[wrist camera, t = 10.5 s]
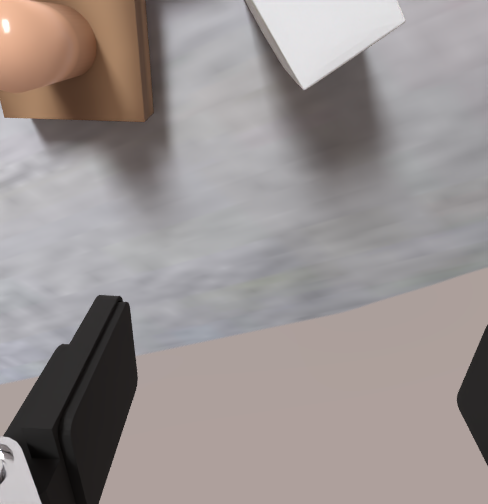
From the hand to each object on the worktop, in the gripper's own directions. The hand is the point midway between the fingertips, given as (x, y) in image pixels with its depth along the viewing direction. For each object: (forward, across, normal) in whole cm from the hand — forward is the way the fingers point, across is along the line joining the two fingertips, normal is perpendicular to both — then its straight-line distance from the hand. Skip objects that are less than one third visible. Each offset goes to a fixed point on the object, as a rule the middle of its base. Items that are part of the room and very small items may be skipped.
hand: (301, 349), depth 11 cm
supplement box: (+33, -2, -8) cm, 34 cm away
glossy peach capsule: (+28, +17, -5) cm, 33 cm away
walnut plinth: (+32, +17, -5) cm, 37 cm away
